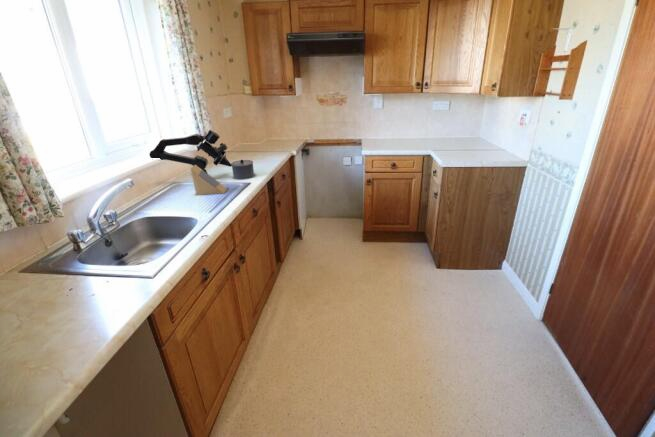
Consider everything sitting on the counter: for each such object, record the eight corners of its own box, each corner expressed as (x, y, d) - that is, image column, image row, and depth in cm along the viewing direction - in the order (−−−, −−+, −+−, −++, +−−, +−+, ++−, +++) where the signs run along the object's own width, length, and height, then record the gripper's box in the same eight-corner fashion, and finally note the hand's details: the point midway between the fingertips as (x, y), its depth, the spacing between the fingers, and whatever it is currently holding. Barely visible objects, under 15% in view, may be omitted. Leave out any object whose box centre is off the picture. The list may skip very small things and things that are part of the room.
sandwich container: (224, 193, 177) (219, 166, 171) (196, 195, 176) (190, 168, 170) (227, 188, 185) (223, 162, 179) (200, 190, 184) (195, 164, 178)
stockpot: (229, 179, 202) (226, 162, 198) (239, 173, 214) (236, 157, 210) (249, 179, 199) (246, 162, 195) (258, 173, 211) (256, 157, 207)
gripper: (215, 142, 187) (237, 159, 192) (219, 137, 204) (240, 153, 209) (204, 157, 189) (226, 173, 195) (209, 150, 206) (230, 166, 212)
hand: (231, 166), depth 203 cm, fingers closed, pressing on stockpot
